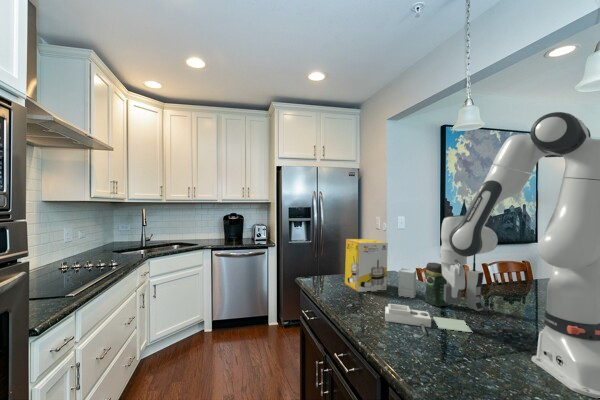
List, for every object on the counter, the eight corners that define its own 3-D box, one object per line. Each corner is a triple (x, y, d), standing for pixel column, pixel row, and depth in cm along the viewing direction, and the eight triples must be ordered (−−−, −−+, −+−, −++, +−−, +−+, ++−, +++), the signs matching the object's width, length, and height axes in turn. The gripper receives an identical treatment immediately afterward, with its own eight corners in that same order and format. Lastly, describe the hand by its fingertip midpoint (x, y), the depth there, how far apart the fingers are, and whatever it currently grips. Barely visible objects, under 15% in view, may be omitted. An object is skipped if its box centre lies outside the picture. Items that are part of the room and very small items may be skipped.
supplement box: (416, 295, 145) (417, 270, 145) (413, 299, 139) (414, 272, 139) (401, 292, 149) (401, 268, 149) (397, 296, 143) (398, 270, 143)
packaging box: (358, 292, 147) (360, 242, 148) (344, 283, 163) (346, 239, 163) (386, 290, 152) (387, 242, 152) (370, 282, 167) (371, 239, 168)
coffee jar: (451, 307, 129) (452, 265, 130) (436, 308, 127) (437, 265, 128) (436, 300, 139) (437, 261, 139) (422, 300, 137) (423, 261, 137)
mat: (472, 333, 102) (472, 332, 102) (438, 328, 105) (438, 327, 105) (464, 321, 112) (464, 320, 112) (433, 317, 115) (433, 316, 115)
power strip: (435, 337, 98) (435, 323, 98) (385, 330, 102) (386, 317, 102) (427, 319, 114) (427, 307, 114) (385, 313, 118) (385, 302, 118)
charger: (460, 304, 106) (461, 284, 106) (445, 302, 108) (446, 283, 108) (457, 301, 110) (458, 282, 110) (443, 299, 112) (444, 280, 112)
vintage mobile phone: (477, 312, 124) (478, 253, 124) (466, 308, 128) (467, 251, 129) (482, 310, 126) (484, 253, 126) (471, 307, 130) (472, 251, 131)
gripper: (471, 264, 98) (469, 304, 98) (455, 254, 118) (454, 288, 118) (450, 262, 100) (449, 302, 100) (439, 253, 120) (437, 287, 119)
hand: (452, 295), depth 109 cm, fingers closed on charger, 4 cm apart
